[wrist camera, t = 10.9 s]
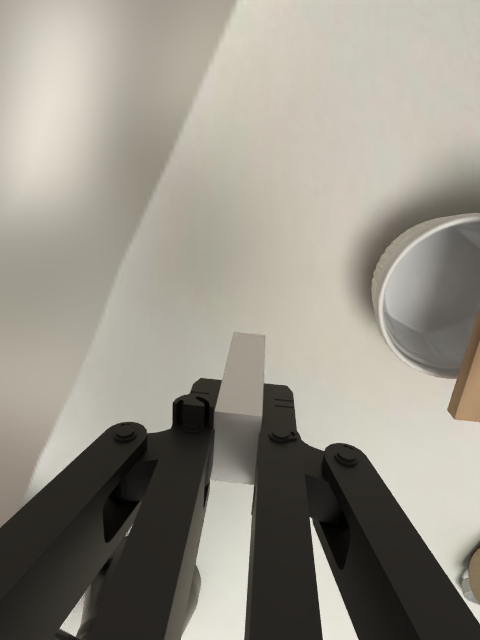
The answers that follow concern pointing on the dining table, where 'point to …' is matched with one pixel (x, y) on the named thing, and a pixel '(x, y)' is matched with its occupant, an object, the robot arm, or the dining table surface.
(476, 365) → the walnut shelf
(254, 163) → the dining table surface
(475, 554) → the ceramic mug
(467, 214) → the ramekin
